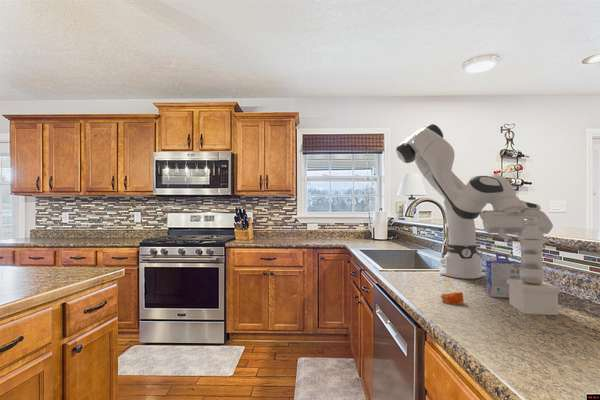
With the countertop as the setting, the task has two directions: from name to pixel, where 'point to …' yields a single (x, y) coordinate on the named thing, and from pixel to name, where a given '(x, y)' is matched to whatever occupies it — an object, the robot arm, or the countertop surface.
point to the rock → (453, 298)
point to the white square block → (533, 297)
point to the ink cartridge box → (501, 275)
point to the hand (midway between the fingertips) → (524, 241)
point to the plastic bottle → (531, 253)
